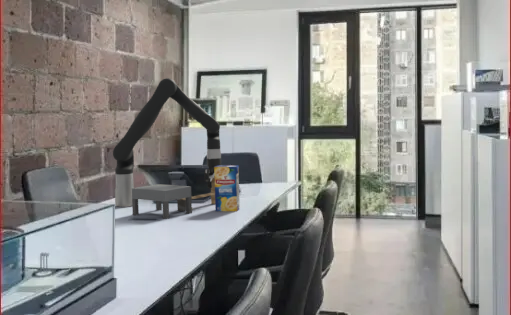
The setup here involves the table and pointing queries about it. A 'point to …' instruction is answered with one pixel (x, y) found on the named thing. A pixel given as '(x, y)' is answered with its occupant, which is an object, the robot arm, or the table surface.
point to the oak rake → (182, 202)
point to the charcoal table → (161, 197)
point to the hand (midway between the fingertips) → (214, 187)
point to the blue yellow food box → (227, 188)
